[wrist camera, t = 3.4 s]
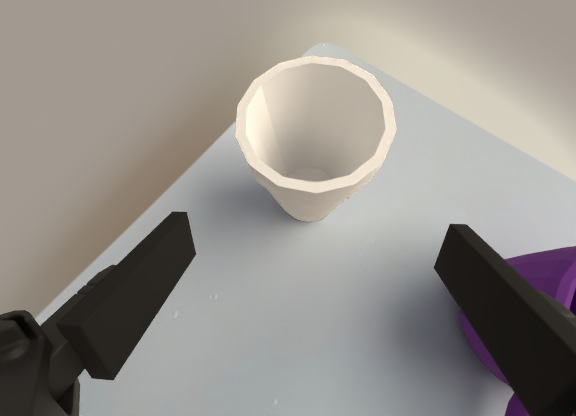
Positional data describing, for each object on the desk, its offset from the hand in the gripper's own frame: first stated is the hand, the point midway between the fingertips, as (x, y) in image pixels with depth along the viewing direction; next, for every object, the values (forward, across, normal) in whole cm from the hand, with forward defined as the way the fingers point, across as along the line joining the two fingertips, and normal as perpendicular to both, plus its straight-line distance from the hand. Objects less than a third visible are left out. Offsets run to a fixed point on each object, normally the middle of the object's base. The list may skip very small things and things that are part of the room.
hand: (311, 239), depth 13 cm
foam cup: (+14, 0, -4) cm, 15 cm away
